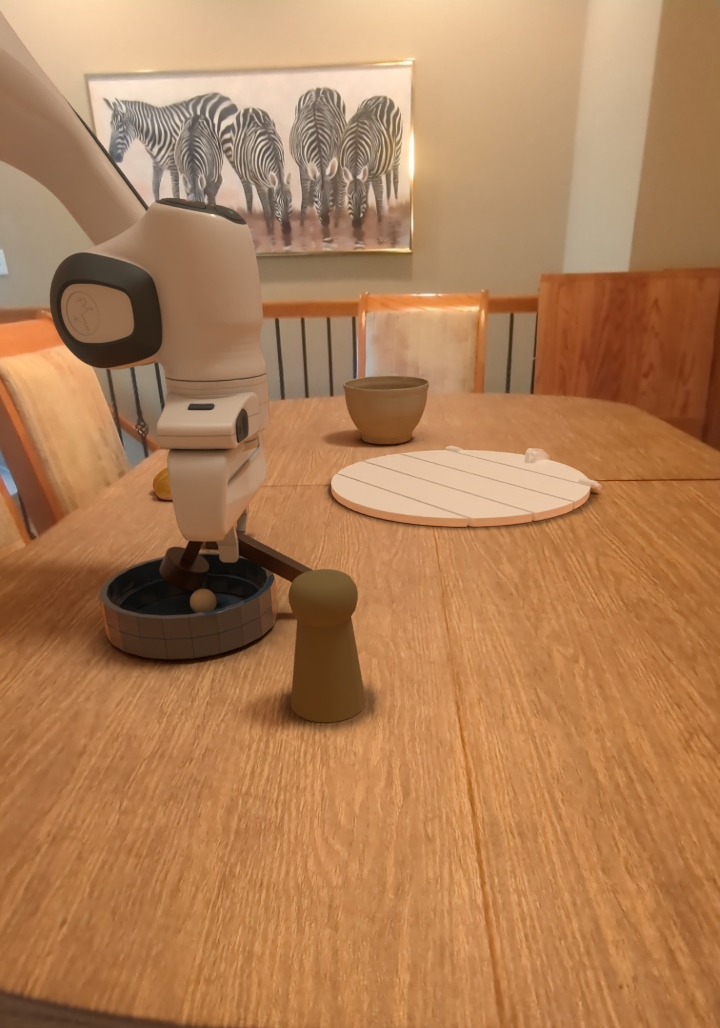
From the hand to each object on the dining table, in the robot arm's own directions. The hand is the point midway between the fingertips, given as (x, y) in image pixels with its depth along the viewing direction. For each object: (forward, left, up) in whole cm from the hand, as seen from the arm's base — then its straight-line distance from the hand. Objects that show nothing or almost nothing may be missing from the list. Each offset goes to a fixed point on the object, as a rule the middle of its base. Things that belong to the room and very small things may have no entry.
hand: (234, 554), depth 74 cm
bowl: (-4, -3, -6) cm, 8 cm away
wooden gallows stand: (-1, 0, -5) cm, 5 cm away
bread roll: (-19, +43, -7) cm, 48 cm away
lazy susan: (+24, +47, -7) cm, 53 cm away
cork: (+11, -17, -7) cm, 21 cm away
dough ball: (-3, -1, -5) cm, 6 cm away
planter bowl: (+11, +80, -7) cm, 81 cm away
